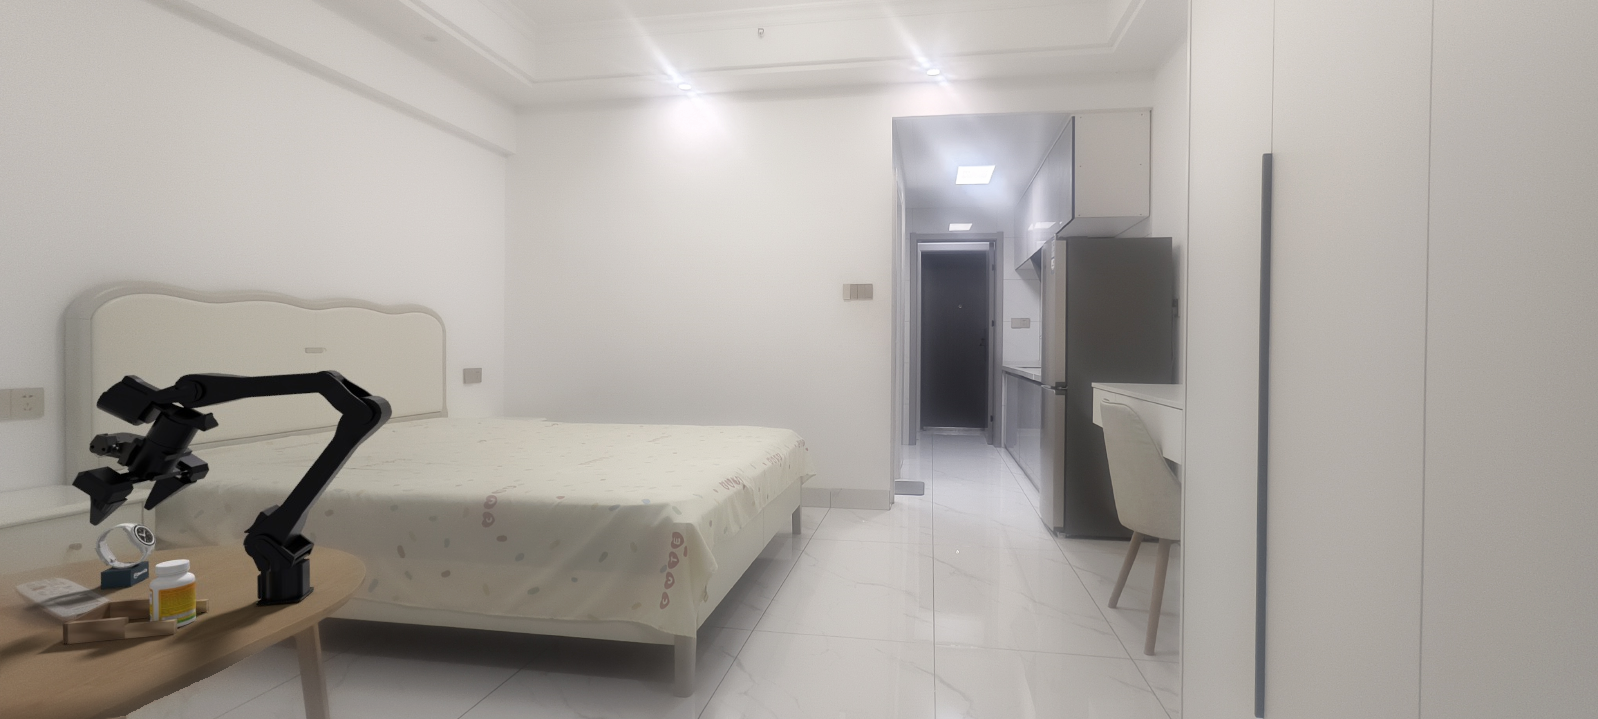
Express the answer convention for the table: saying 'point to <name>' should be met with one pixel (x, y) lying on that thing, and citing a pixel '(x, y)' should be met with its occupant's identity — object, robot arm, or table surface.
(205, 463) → the robot arm
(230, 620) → the table surface
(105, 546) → the watch
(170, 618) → the supplement bottle
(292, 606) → the table surface
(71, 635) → the jig
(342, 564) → the table surface
